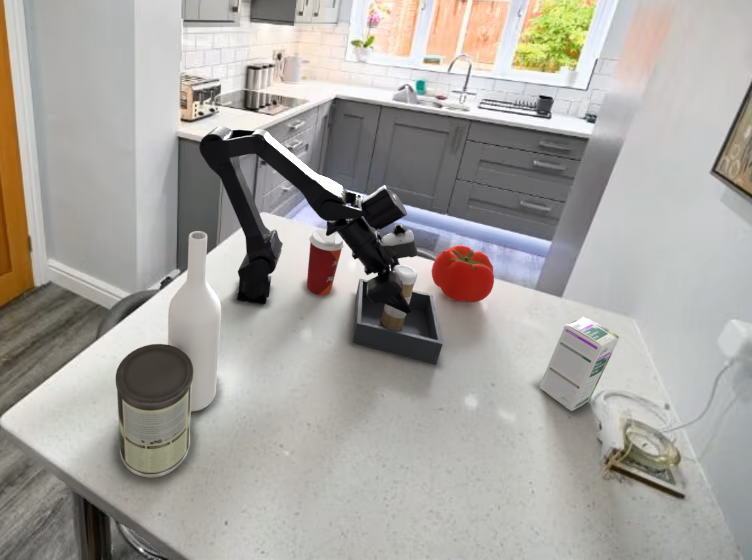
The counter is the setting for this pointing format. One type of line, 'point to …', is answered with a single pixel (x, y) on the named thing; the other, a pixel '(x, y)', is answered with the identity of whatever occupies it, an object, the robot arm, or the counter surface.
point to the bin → (411, 341)
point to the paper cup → (323, 261)
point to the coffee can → (154, 409)
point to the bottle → (197, 323)
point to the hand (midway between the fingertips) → (407, 297)
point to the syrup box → (578, 362)
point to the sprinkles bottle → (408, 276)
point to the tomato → (463, 274)
